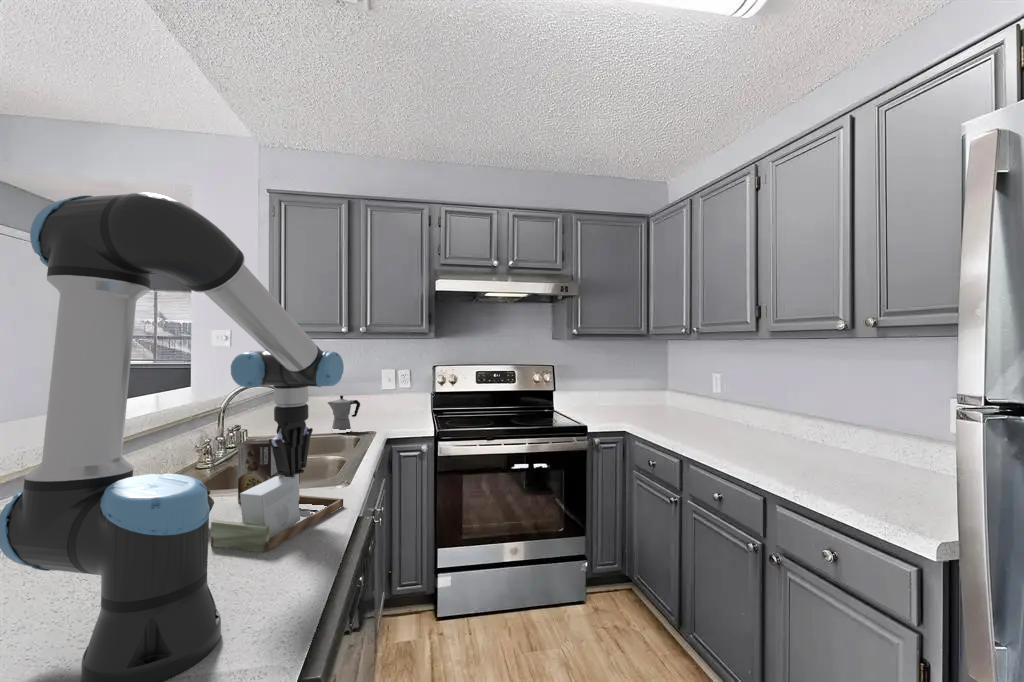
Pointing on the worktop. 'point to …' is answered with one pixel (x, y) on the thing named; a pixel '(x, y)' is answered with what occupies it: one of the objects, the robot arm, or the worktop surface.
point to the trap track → (267, 528)
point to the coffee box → (255, 464)
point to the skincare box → (272, 504)
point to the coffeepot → (342, 412)
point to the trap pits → (306, 513)
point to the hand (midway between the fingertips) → (292, 500)
